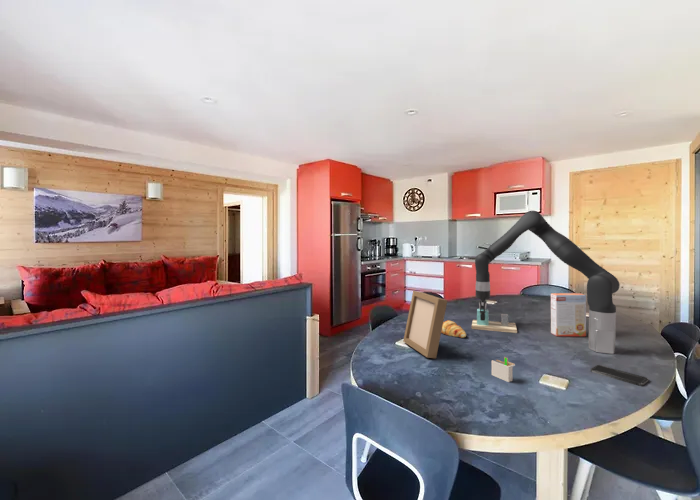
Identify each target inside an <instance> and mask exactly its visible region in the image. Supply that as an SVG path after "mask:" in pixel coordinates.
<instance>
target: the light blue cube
mask: <svg viewBox="0 0 700 500" xmlns="http://www.w3.org/2000/svg"><path fill="white" fill-rule="evenodd" d="M481 311H484V310H481ZM489 312H490V311H489V309H488V308H486V310H485V320H484V321H483V320H480V309H479V308H477V309H476V320H477V325H488V324H489V321H490V320H489V319H490V318H489V316H490V315H489V314H490V313H489Z"/></svg>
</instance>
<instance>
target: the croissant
mask: <svg viewBox="0 0 700 500" xmlns="http://www.w3.org/2000/svg"><path fill="white" fill-rule="evenodd" d="M441 334H444V335H446V336H450V337H456V338H458V337H459V338H461V339H462V338H466V337H467V333H466V331H465V330H464V329H463V328H462V327H461V325H458V324H457V323H456V322H455V321H452V320H449V319H447V320H445V321H443V326H442V331H441Z"/></svg>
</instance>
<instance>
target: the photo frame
mask: <svg viewBox="0 0 700 500" xmlns="http://www.w3.org/2000/svg"><path fill="white" fill-rule="evenodd" d="M409 304H410V305H409V311H408V314H407V320H406V325H405V330H404V336H403V342H404V343H405V344H406V345H408V346H410V347H411V348H412V349H413V350H415V351H417V352H418V353H420V354H421V355H422V356H424V357H426V358H428V359H429V358H430V359H437V355H438V352H439V351H438V350H439V345H440V342H441V341H440V340H441V334H442V333H441V331H442V326H443V322H445V321H444V319H445V316H446V309H447V305H448V300H447V299H444V298H441V297H437V296H434V295H432V294H428V293H425V292H422V291H417V290H412V296H411V301H410V303H409Z"/></svg>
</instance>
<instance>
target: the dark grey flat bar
mask: <svg viewBox="0 0 700 500" xmlns="http://www.w3.org/2000/svg"><path fill="white" fill-rule="evenodd" d="M590 372H591V373H594V374H597V375H601V376H605V377H608V378H610V379H614V380H617V381H621V382H623V383H624V382H625V383H628V384H631V385H635V386H639V387H643V386H645V385H646V384H648V383H649V381H650V379H649V378H648V377H646V376H642V375H638V374H635V373H631V372H627V371H624V370H620V369H616V368H612V367H609V366H606V365H600V364H596V365H595V366H593V367H591V368H590Z"/></svg>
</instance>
